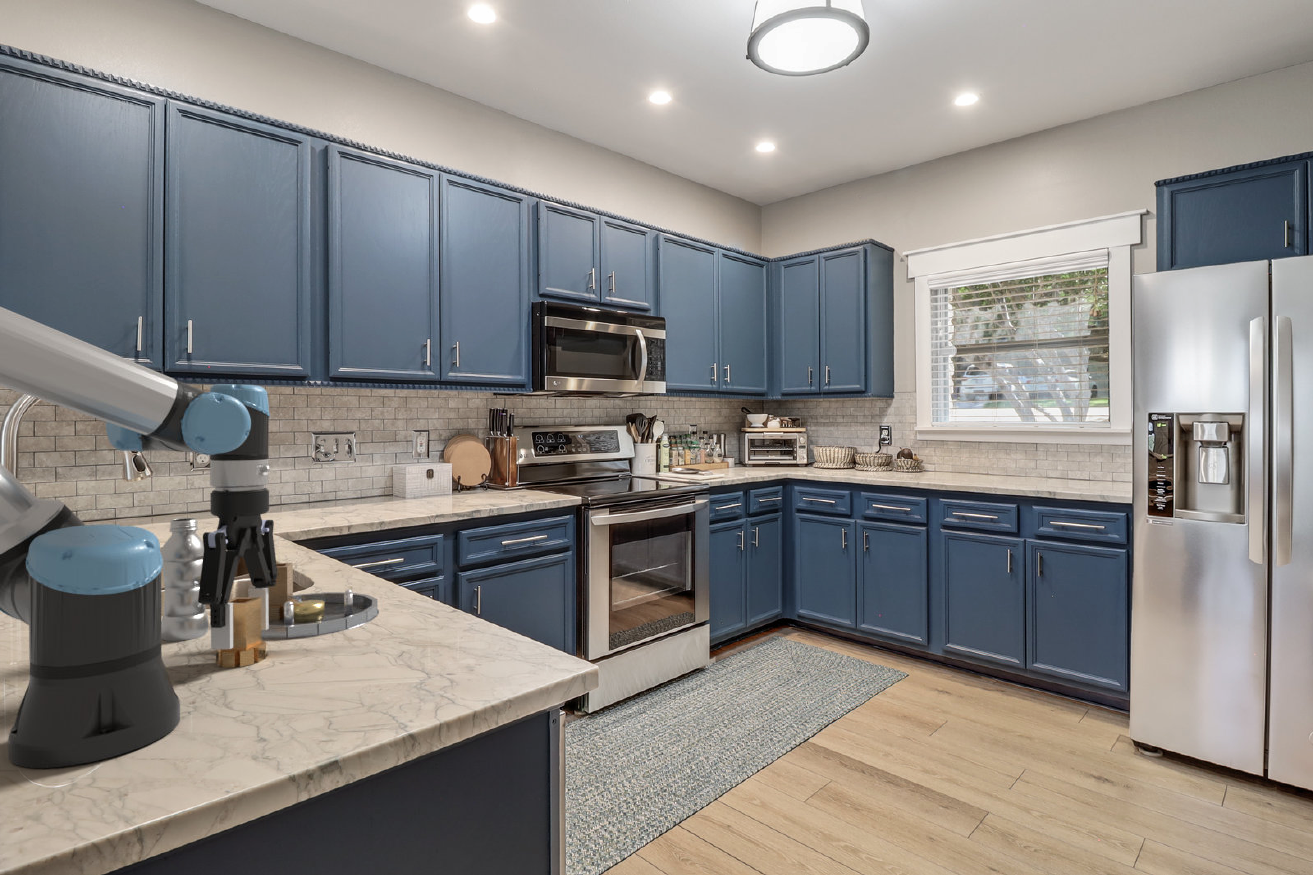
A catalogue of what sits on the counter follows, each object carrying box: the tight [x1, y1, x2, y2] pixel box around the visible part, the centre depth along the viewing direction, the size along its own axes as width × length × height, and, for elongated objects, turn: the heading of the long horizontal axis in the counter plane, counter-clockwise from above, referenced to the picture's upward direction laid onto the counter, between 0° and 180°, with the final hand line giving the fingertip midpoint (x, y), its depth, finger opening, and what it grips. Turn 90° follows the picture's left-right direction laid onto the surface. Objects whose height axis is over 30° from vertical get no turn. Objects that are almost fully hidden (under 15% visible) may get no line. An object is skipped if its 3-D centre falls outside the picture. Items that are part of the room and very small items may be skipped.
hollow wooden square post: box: [215, 596, 267, 669], centre depth 103 cm, size 6×6×9 cm
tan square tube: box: [268, 562, 299, 620], centre depth 123 cm, size 6×6×9 cm
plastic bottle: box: [160, 517, 210, 642], centre depth 111 cm, size 6×7×20 cm
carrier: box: [261, 589, 380, 640], centre depth 121 cm, size 23×23×6 cm
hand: (241, 638), depth 103 cm, fingers open, 8 cm apart
